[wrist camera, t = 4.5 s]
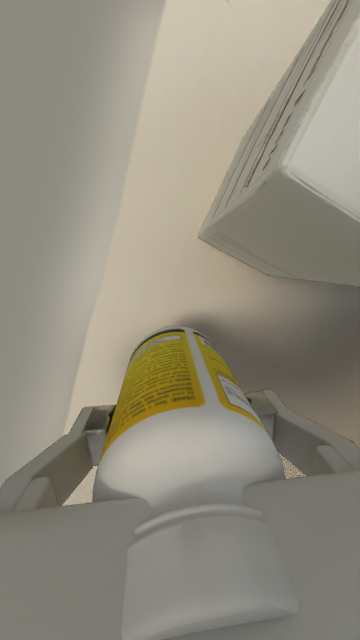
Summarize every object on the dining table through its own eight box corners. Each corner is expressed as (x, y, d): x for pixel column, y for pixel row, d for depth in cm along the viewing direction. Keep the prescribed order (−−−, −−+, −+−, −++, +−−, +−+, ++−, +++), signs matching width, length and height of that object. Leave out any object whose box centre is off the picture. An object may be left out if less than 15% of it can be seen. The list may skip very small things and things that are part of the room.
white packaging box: (318, 191, 16) (779, -13, 4) (268, 277, 18) (491, 314, 6) (239, 137, 15) (589, -421, 3) (193, 236, 16) (278, 170, 4)
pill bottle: (123, 396, 15) (19, 764, 4) (138, 314, 13) (31, 576, 2) (206, 408, 15) (299, 736, 5) (231, 333, 14) (452, 585, 3)
